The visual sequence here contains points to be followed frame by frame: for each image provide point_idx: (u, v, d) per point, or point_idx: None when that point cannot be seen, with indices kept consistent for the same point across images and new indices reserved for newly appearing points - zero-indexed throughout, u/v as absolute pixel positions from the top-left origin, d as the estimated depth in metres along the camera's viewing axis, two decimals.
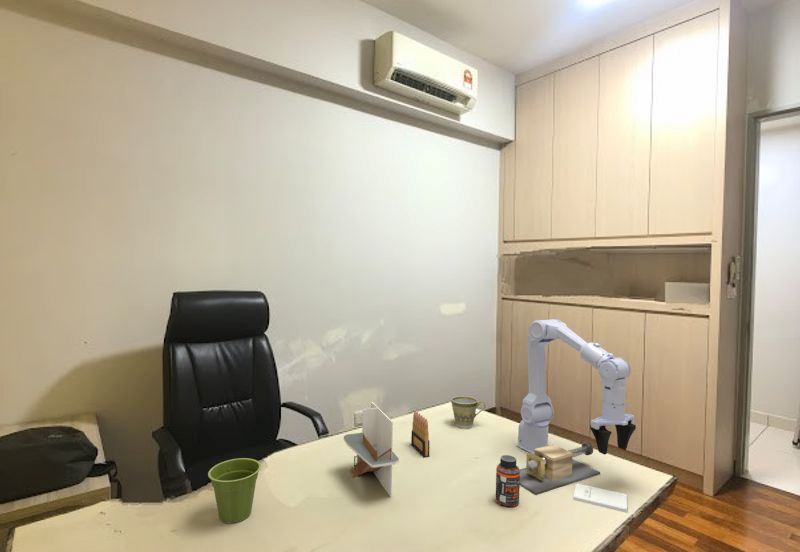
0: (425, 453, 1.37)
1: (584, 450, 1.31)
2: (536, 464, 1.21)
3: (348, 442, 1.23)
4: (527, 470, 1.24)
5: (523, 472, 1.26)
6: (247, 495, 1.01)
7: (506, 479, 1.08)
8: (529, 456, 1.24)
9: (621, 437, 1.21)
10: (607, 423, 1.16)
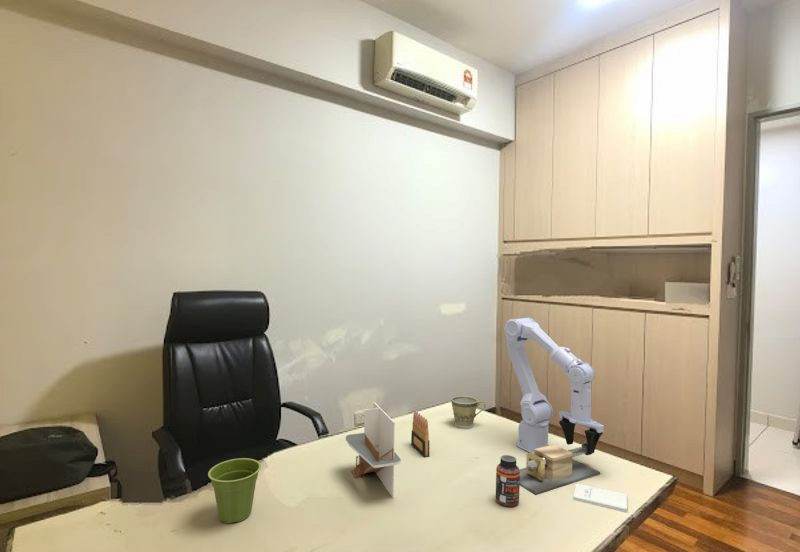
0: (425, 453, 1.37)
1: (584, 450, 1.31)
2: (536, 464, 1.21)
3: (350, 442, 1.22)
4: (527, 470, 1.24)
5: (523, 472, 1.26)
6: (247, 495, 1.01)
7: (506, 479, 1.08)
8: (529, 456, 1.24)
9: None
10: (565, 416, 1.34)
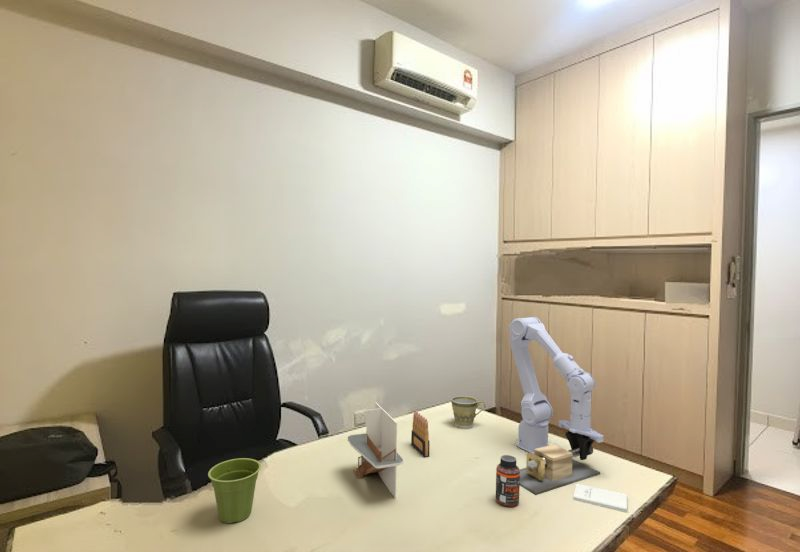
0: (425, 453, 1.37)
1: None
2: (536, 464, 1.21)
3: (352, 443, 1.22)
4: (527, 470, 1.24)
5: (523, 472, 1.26)
6: (247, 495, 1.01)
7: (506, 479, 1.08)
8: (529, 456, 1.24)
9: None
10: (565, 425, 1.34)
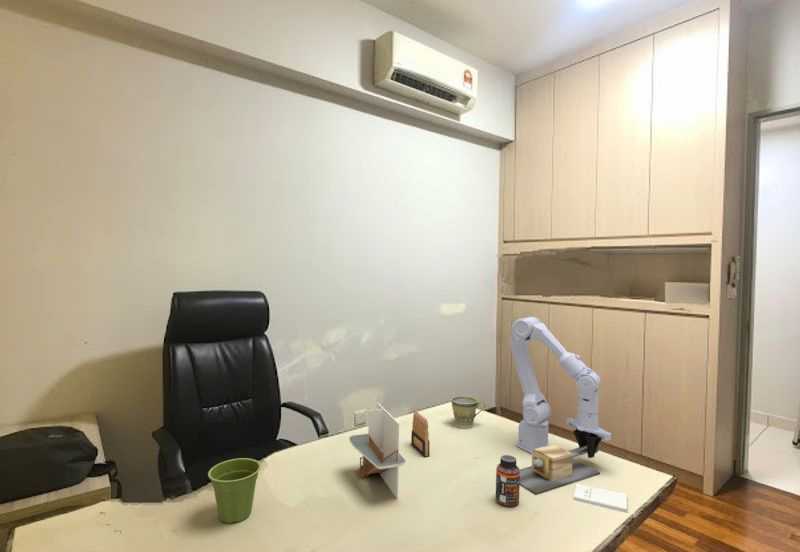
0: (425, 453, 1.37)
1: None
2: (543, 462, 1.23)
3: (354, 443, 1.22)
4: (533, 468, 1.25)
5: (523, 472, 1.26)
6: (247, 495, 1.01)
7: (506, 479, 1.08)
8: (534, 455, 1.25)
9: None
10: (572, 423, 1.36)
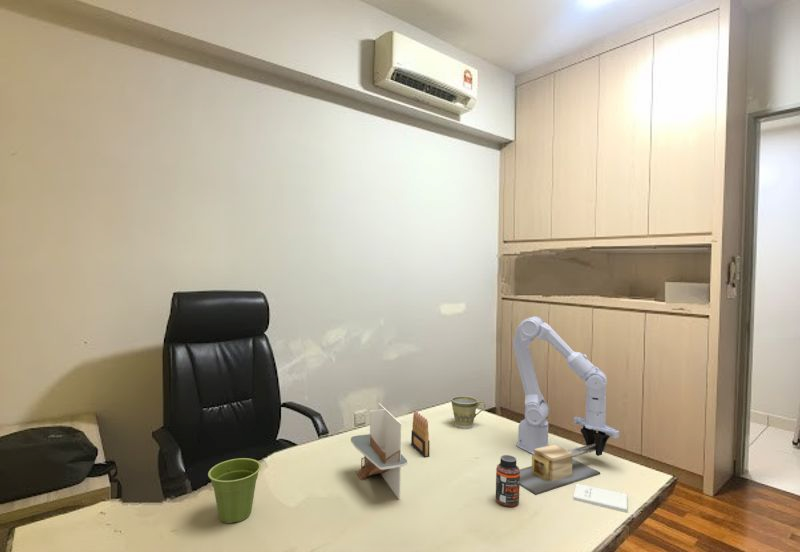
0: (425, 453, 1.37)
1: None
2: None
3: (355, 444, 1.21)
4: (532, 471, 1.25)
5: (523, 472, 1.26)
6: (247, 495, 1.01)
7: (506, 479, 1.08)
8: (534, 457, 1.25)
9: None
10: (580, 422, 1.37)
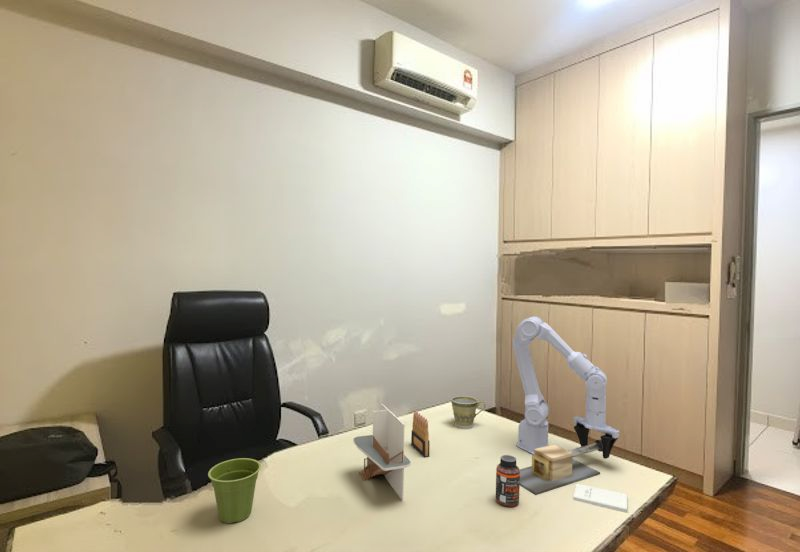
0: (425, 453, 1.37)
1: (597, 446, 1.34)
2: None
3: (358, 445, 1.21)
4: (532, 471, 1.25)
5: (523, 472, 1.26)
6: (247, 495, 1.01)
7: (506, 479, 1.08)
8: (534, 457, 1.25)
9: None
10: (580, 421, 1.37)
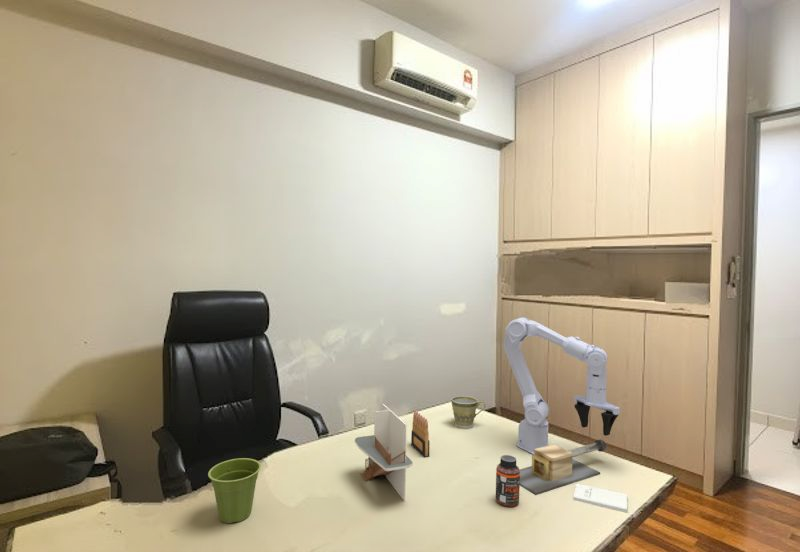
0: (425, 453, 1.37)
1: (597, 446, 1.34)
2: None
3: (360, 445, 1.21)
4: (532, 471, 1.25)
5: (523, 472, 1.26)
6: (247, 495, 1.01)
7: (506, 479, 1.08)
8: (534, 457, 1.25)
9: None
10: (580, 400, 1.37)
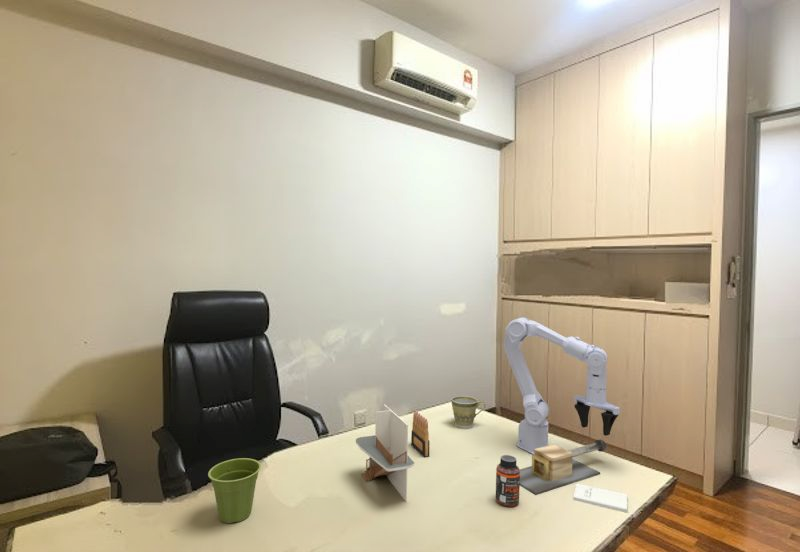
0: (425, 453, 1.37)
1: (597, 446, 1.34)
2: None
3: (361, 445, 1.20)
4: (532, 471, 1.25)
5: (523, 472, 1.26)
6: (247, 495, 1.01)
7: (506, 479, 1.08)
8: (534, 457, 1.25)
9: None
10: (580, 400, 1.37)
